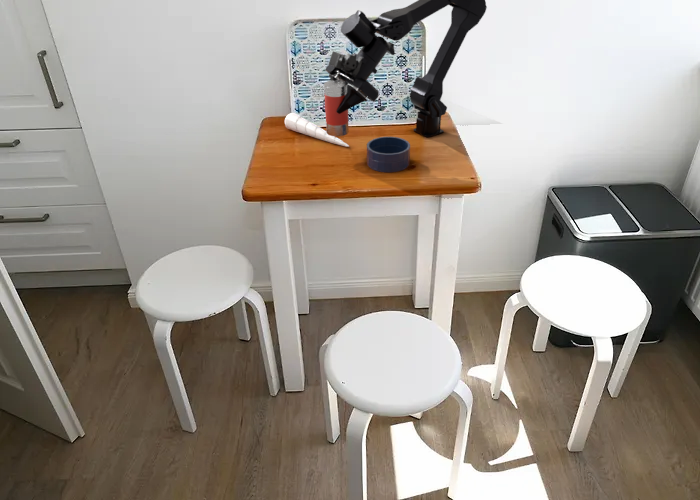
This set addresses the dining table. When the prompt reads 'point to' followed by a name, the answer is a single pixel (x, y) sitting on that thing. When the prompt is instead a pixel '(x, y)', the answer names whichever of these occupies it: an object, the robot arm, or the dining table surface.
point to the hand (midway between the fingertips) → (331, 109)
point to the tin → (335, 108)
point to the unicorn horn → (310, 129)
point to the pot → (388, 154)
